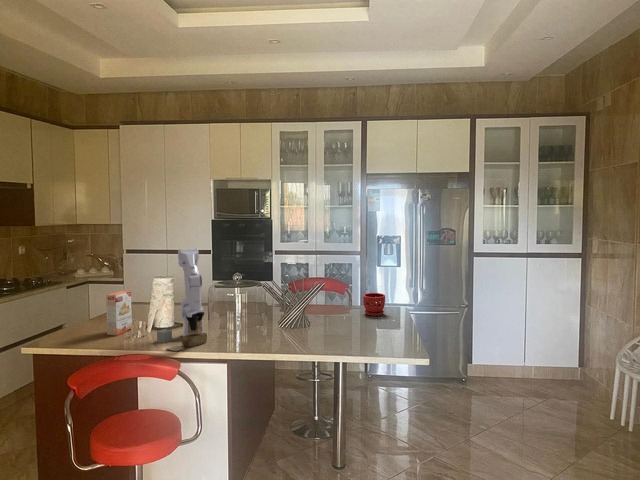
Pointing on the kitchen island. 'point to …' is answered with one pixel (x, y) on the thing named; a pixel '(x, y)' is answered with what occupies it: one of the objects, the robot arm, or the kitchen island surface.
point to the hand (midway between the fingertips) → (195, 328)
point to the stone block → (194, 339)
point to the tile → (176, 348)
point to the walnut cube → (198, 328)
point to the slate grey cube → (164, 335)
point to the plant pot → (374, 303)
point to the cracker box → (118, 312)
